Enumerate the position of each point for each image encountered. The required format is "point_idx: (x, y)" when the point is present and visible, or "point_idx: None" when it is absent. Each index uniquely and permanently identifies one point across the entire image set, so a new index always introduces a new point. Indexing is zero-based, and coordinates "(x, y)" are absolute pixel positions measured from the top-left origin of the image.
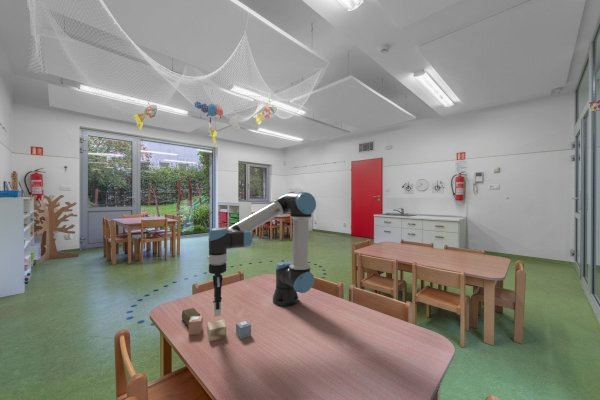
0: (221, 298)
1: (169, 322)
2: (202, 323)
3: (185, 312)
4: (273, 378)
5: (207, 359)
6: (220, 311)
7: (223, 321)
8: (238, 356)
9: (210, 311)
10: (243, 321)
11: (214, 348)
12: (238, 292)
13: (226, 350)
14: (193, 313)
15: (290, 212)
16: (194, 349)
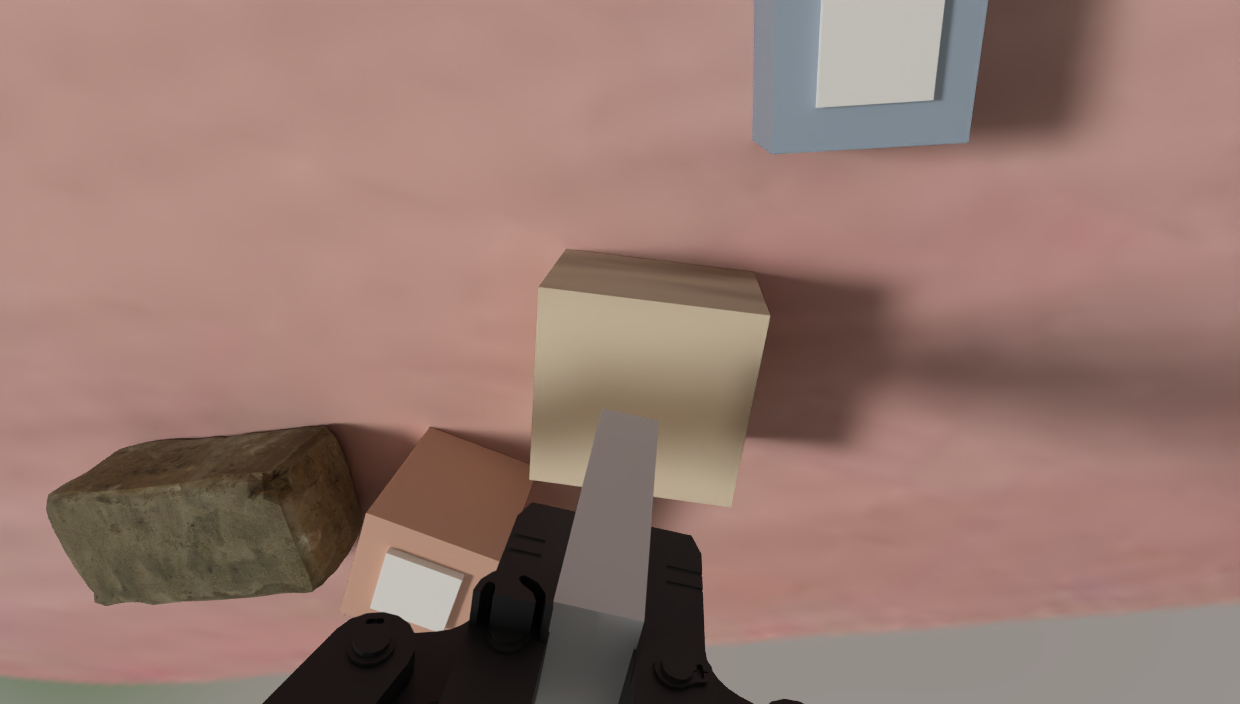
0: (551, 613)
1: (206, 623)
2: (413, 458)
3: (166, 599)
4: None
5: (1007, 518)
6: (654, 465)
7: (605, 304)
8: (1214, 273)
9: (40, 255)
10: (796, 11)
11: (883, 429)
12: None
13: (1006, 344)
14: (211, 539)
15: None
16: (777, 562)
